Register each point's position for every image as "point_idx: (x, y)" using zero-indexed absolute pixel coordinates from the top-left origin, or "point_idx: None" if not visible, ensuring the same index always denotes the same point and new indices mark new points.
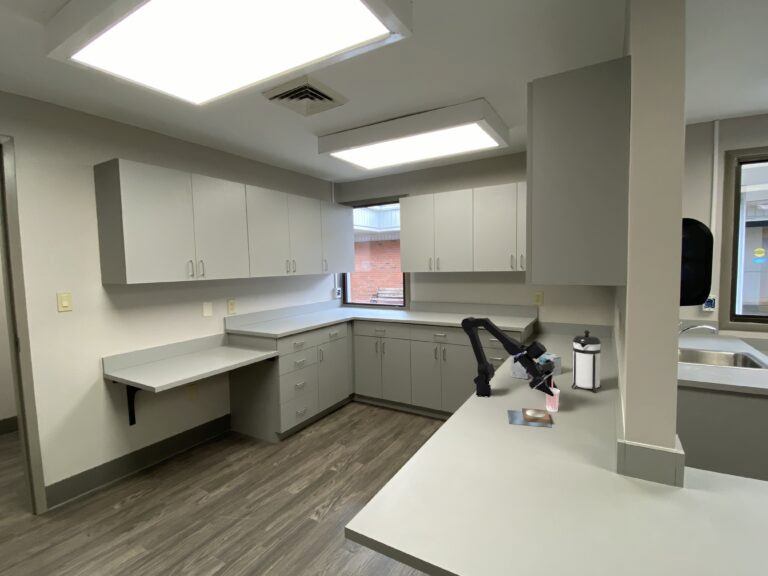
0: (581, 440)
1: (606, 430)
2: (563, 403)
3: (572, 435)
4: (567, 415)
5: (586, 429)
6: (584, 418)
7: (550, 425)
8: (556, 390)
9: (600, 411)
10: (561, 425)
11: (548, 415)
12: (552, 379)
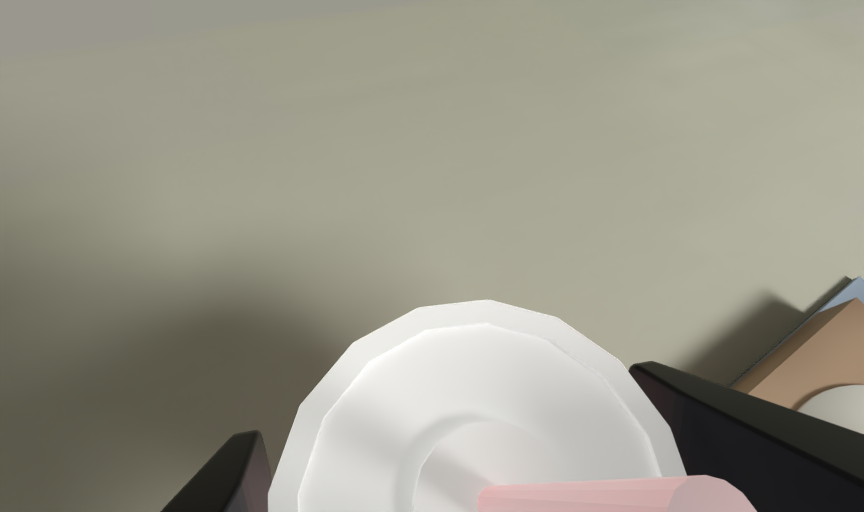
0: (801, 69)
1: (519, 4)
2: (68, 488)
3: (798, 124)
4: (466, 282)
5: (618, 87)
6: (417, 150)
7: (843, 296)
8: (421, 401)
9: (131, 98)
10: (729, 237)
11: (789, 363)
12: (724, 491)
